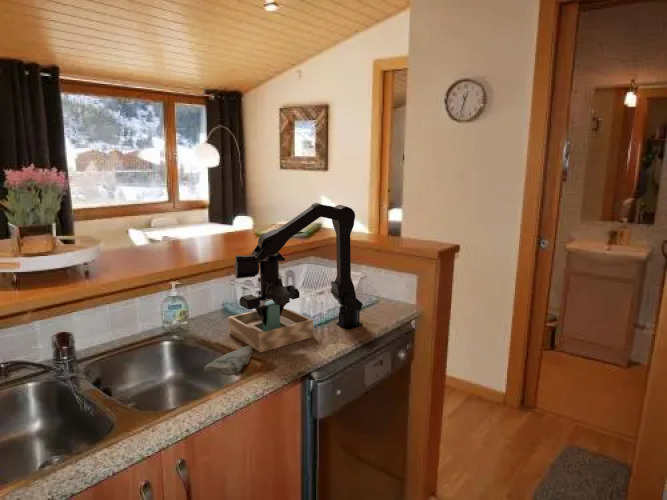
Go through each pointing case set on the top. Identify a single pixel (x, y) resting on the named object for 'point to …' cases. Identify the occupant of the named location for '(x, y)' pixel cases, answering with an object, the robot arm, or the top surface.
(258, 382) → the top surface
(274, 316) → the peg
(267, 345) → the box
